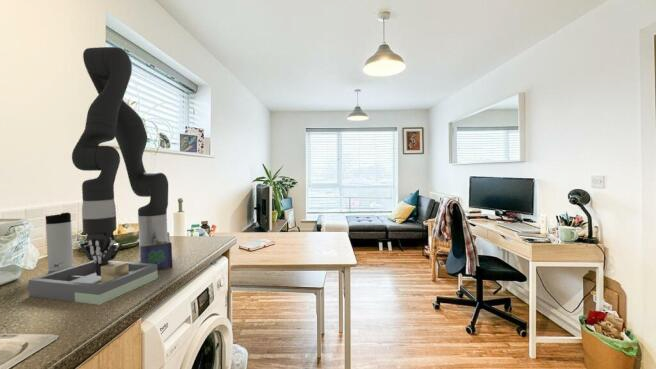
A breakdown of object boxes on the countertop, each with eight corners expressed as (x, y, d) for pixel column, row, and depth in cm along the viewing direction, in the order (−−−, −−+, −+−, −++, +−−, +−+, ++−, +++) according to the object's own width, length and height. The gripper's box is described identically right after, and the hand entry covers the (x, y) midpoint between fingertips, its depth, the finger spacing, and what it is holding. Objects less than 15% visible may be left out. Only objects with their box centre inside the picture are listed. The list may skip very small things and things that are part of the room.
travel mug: (59, 275, 92) (55, 214, 91) (43, 273, 94) (39, 213, 93) (79, 268, 98) (76, 211, 98) (64, 267, 100) (61, 211, 99)
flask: (140, 273, 93) (139, 241, 93) (141, 270, 96) (140, 239, 95) (172, 268, 98) (171, 237, 98) (172, 265, 100) (171, 236, 100)
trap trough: (97, 272, 94) (96, 259, 94) (157, 278, 88) (157, 264, 88) (29, 296, 76) (28, 279, 76) (99, 304, 71) (98, 287, 71)
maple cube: (116, 276, 83) (116, 261, 83) (128, 277, 82) (128, 262, 82) (101, 282, 79) (100, 266, 79) (113, 283, 78) (113, 267, 78)
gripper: (130, 214, 83) (132, 272, 84) (95, 213, 86) (97, 269, 87) (104, 218, 76) (107, 282, 77) (67, 217, 79) (70, 278, 80)
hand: (102, 275), depth 82 cm, fingers closed
